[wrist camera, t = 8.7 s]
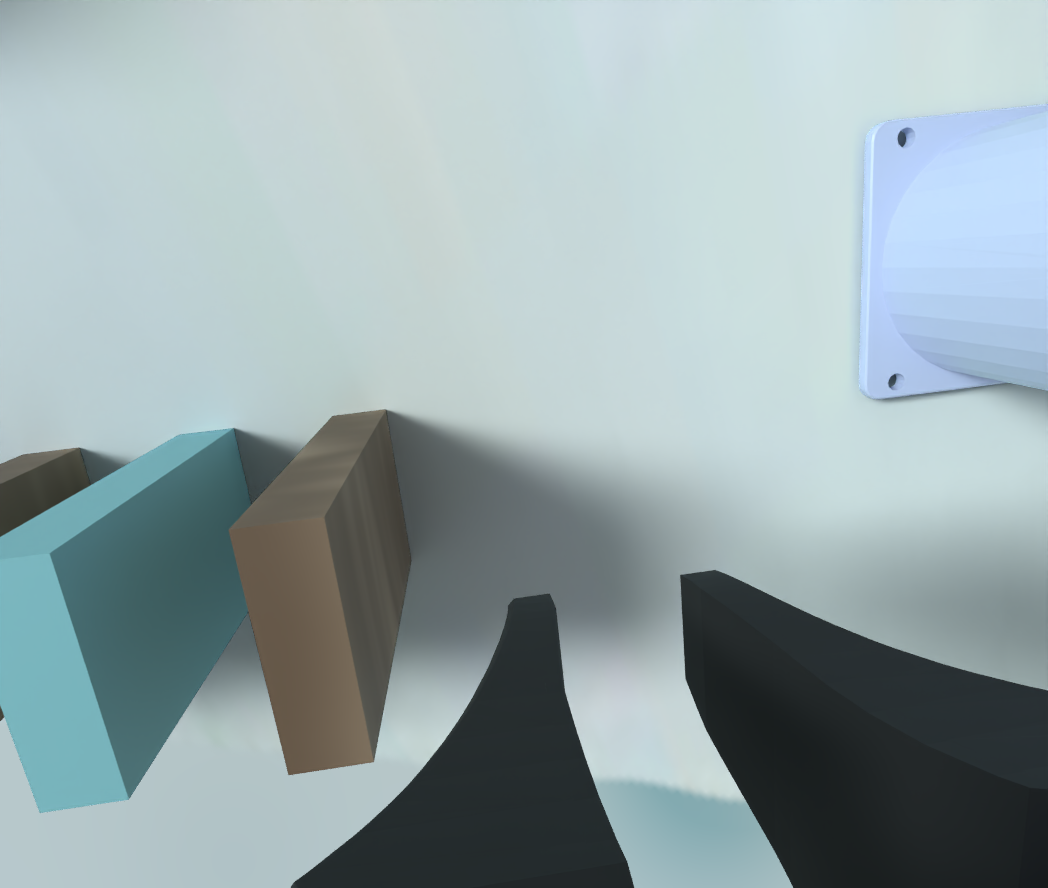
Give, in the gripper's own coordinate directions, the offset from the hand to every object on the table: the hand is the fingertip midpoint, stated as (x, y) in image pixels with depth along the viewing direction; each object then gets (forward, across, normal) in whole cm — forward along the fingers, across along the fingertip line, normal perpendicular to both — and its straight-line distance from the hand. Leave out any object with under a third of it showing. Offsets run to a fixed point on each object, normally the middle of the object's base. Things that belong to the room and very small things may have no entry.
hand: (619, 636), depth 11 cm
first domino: (+10, +6, 0) cm, 11 cm away
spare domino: (+10, +10, 0) cm, 14 cm away
